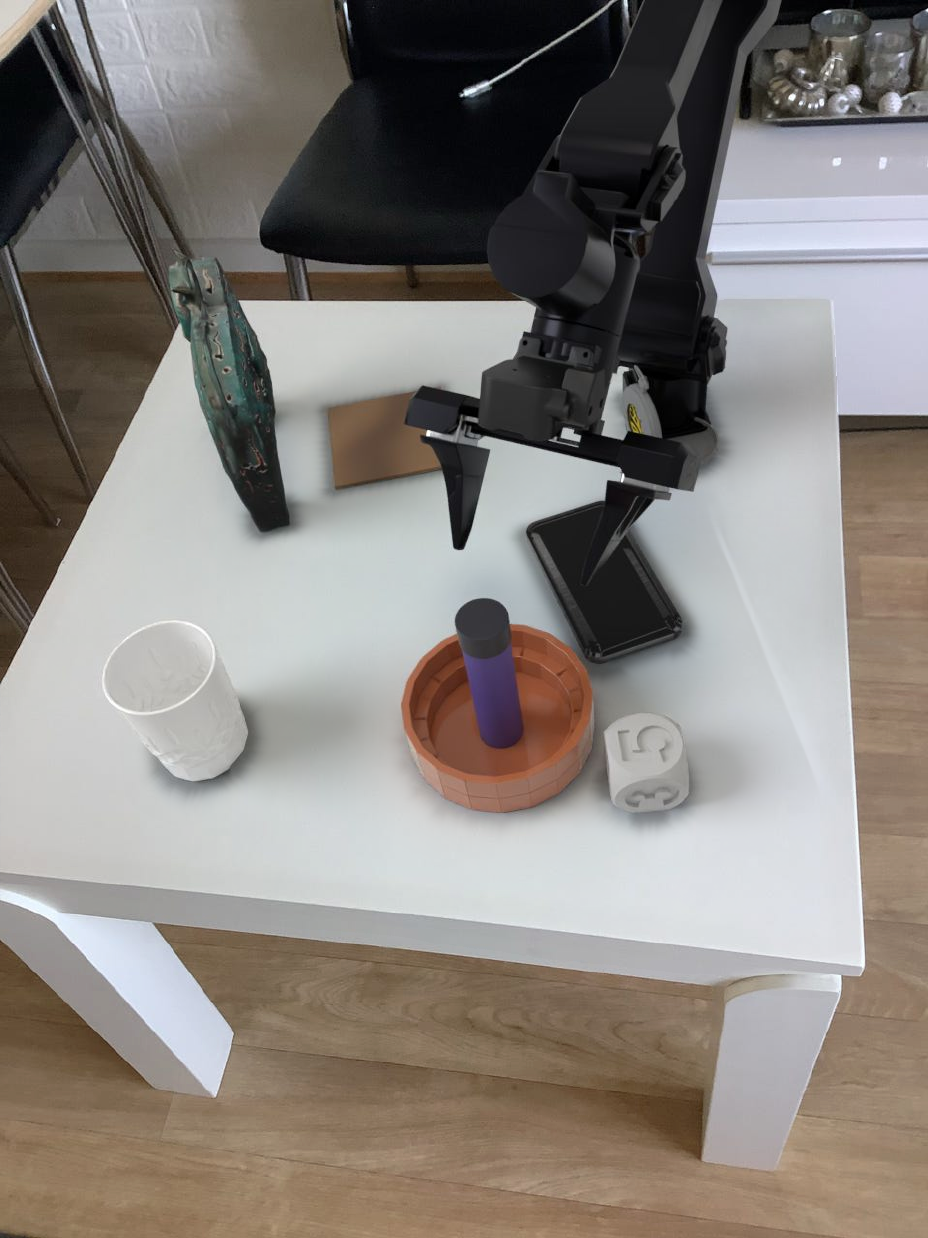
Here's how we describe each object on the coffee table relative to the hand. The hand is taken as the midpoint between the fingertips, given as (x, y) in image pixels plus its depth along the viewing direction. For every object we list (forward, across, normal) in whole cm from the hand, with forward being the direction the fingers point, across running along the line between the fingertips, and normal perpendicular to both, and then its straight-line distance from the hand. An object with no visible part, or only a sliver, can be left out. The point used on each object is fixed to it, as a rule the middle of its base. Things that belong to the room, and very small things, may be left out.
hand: (520, 567), depth 70 cm
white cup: (+19, -20, -2) cm, 28 cm away
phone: (+2, +2, +16) cm, 16 cm away
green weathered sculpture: (0, -33, +18) cm, 38 cm away
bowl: (+13, 0, +5) cm, 13 cm away
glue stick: (+12, 0, +4) cm, 13 cm away
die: (+13, +11, +5) cm, 17 cm away
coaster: (-5, -23, +22) cm, 33 cm away
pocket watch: (-10, +1, +27) cm, 29 cm away
